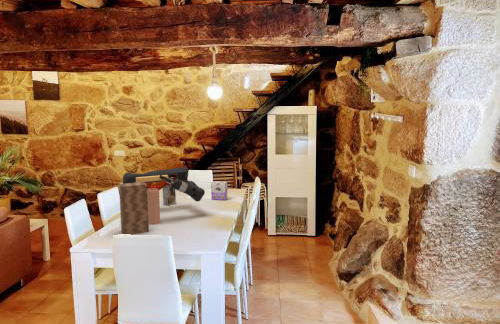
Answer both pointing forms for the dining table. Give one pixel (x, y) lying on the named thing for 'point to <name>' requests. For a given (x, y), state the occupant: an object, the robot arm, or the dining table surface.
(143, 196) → the plinth
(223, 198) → the candy box
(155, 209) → the terracotta base
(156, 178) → the dowel
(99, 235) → the dining table surface
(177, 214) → the dining table surface
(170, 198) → the coffee box
